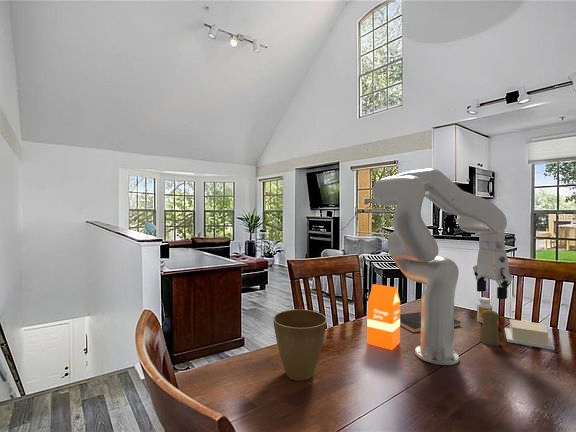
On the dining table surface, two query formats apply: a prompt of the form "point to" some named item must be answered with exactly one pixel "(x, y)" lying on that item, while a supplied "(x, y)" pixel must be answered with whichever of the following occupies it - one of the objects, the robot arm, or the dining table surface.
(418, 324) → the hardcover book
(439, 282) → the robot arm
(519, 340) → the plinth stand
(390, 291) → the orange juice
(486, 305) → the supplement bottle
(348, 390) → the dining table surface
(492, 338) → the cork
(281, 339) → the plant pot
